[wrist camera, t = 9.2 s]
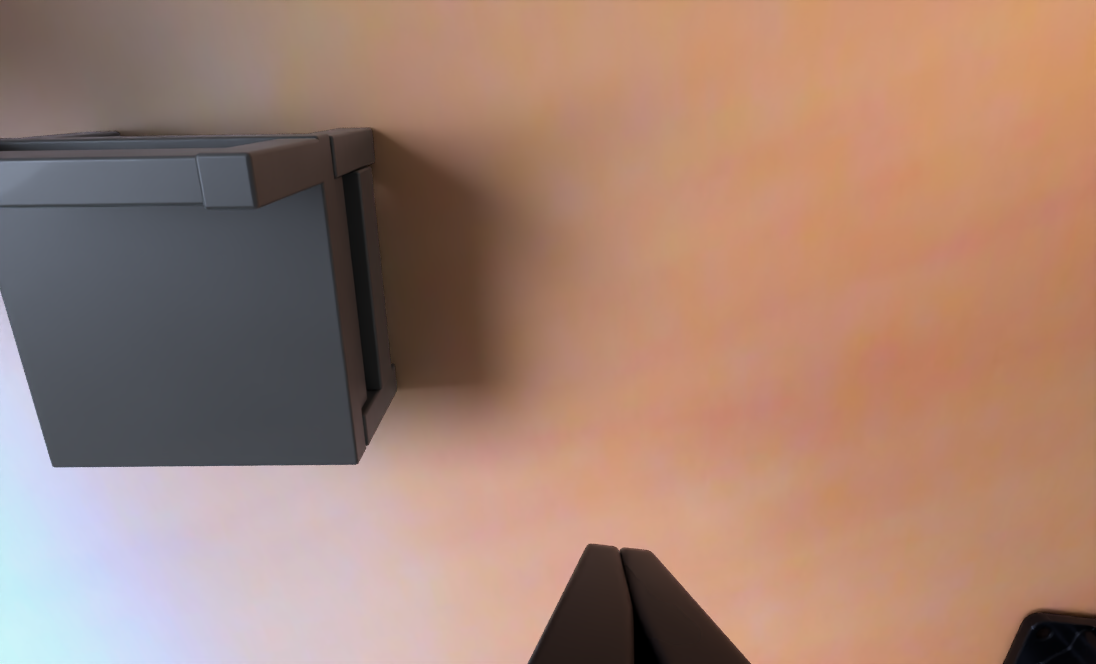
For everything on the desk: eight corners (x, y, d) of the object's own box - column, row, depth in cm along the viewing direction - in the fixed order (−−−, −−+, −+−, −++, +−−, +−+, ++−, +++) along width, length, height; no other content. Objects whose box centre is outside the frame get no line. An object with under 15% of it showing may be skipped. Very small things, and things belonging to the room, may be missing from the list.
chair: (401, 392, 20) (318, 557, 13) (144, 394, 20) (-79, 560, 13) (375, 125, 18) (255, 148, 10) (82, 129, 18) (-237, 156, 11)
